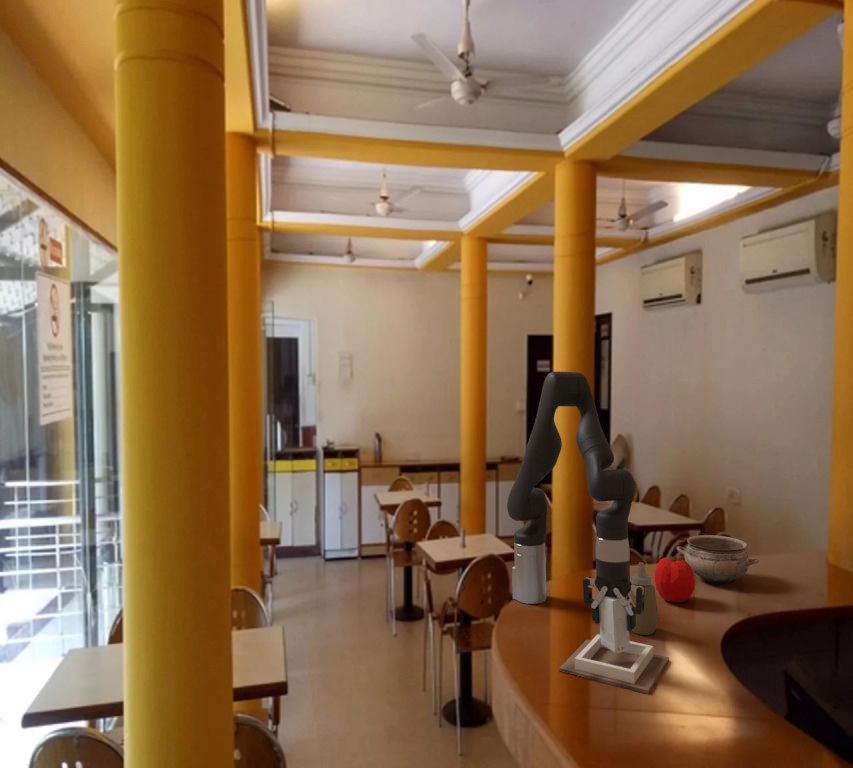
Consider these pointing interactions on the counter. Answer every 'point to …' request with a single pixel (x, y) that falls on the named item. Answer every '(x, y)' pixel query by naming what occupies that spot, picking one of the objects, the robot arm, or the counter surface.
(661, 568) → the tomato
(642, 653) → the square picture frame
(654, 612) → the squeeze bottle
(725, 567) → the cooking pot
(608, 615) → the skincare box
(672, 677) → the counter surface
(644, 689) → the board
